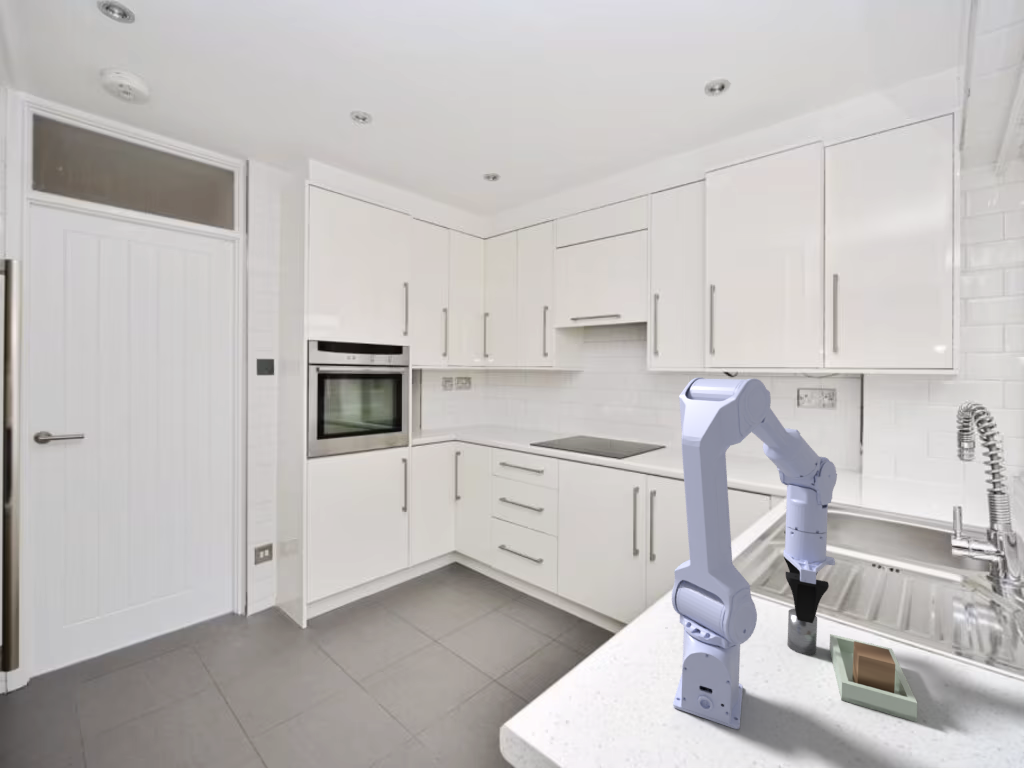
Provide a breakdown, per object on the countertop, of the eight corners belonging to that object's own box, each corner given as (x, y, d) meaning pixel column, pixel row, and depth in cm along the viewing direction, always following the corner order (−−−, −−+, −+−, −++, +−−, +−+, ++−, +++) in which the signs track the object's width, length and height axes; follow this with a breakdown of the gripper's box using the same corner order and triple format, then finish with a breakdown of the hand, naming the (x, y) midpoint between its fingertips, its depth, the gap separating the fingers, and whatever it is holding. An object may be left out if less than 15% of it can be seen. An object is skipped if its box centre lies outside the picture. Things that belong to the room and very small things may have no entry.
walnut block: (893, 704, 62) (895, 664, 62) (857, 694, 64) (858, 655, 64) (887, 687, 66) (888, 649, 66) (852, 678, 68) (853, 641, 68)
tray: (916, 722, 60) (917, 703, 60) (841, 700, 64) (842, 682, 64) (891, 664, 72) (891, 648, 72) (829, 649, 76) (830, 633, 76)
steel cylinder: (817, 658, 74) (818, 623, 74) (787, 650, 76) (789, 616, 76) (814, 645, 77) (816, 612, 77) (787, 638, 79) (788, 606, 79)
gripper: (841, 546, 68) (838, 638, 68) (830, 520, 81) (827, 597, 81) (785, 537, 71) (783, 625, 72) (783, 513, 84) (780, 588, 84)
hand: (803, 610), depth 76 cm, fingers open, 7 cm apart
